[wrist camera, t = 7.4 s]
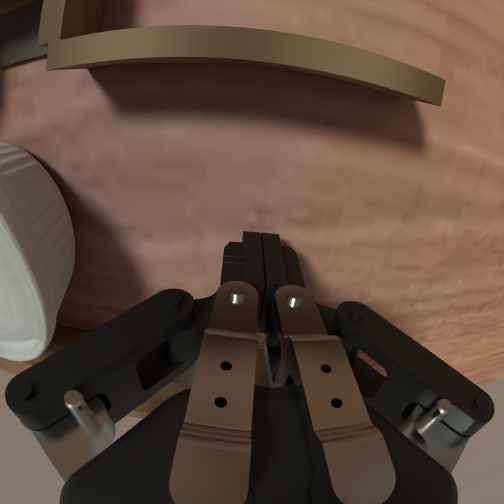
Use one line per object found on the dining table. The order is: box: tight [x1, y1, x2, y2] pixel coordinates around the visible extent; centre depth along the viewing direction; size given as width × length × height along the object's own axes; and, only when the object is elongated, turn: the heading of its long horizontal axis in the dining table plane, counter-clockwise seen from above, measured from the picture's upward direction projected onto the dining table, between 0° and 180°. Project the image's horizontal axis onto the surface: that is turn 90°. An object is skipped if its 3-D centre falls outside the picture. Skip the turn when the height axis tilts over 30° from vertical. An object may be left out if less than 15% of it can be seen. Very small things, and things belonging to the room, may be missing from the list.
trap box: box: [0, 0, 445, 419], centre depth 12 cm, size 25×25×3 cm
